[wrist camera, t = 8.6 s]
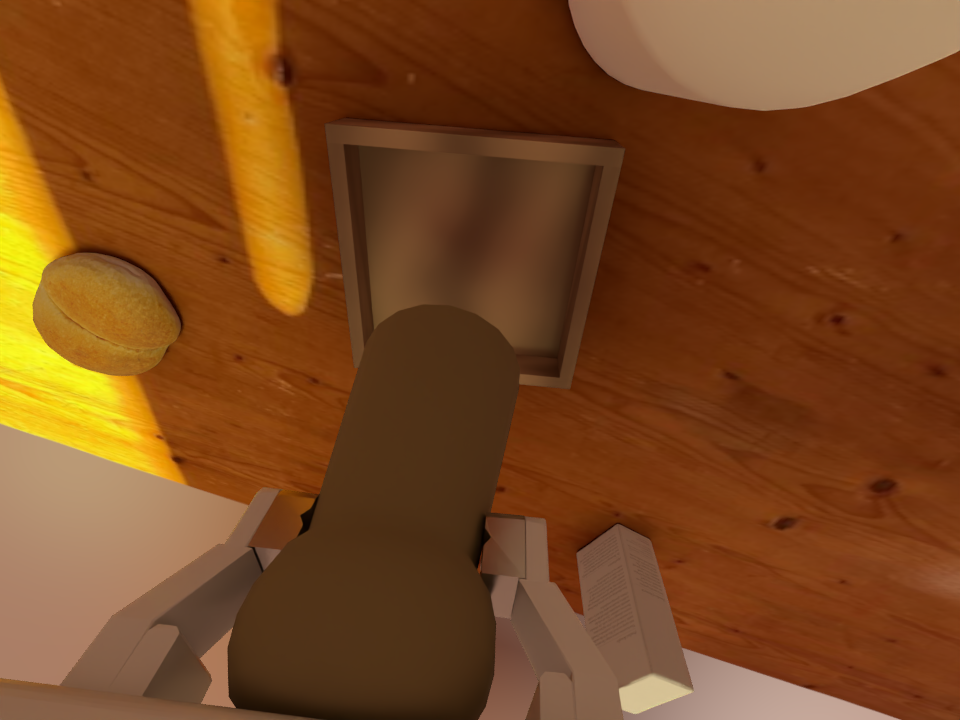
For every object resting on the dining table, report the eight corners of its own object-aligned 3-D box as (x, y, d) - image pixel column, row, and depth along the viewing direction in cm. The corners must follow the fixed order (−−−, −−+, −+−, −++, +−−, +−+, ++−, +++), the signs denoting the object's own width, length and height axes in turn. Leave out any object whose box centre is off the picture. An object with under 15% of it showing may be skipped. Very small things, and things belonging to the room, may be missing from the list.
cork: (343, 397, 18) (149, 749, 8) (395, 273, 14) (174, 629, 5) (476, 453, 19) (430, 815, 10) (551, 351, 16) (591, 750, 6)
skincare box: (609, 567, 43) (634, 716, 33) (575, 551, 42) (591, 700, 32) (653, 538, 40) (697, 693, 30) (618, 520, 39) (651, 675, 29)
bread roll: (203, 305, 30) (164, 335, 27) (154, 374, 34) (114, 407, 31) (81, 218, 27) (20, 239, 24) (42, 304, 31) (-14, 332, 28)
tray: (614, 139, 22) (625, 148, 20) (566, 364, 30) (570, 389, 28) (344, 117, 23) (324, 123, 20) (366, 344, 30) (354, 367, 28)
